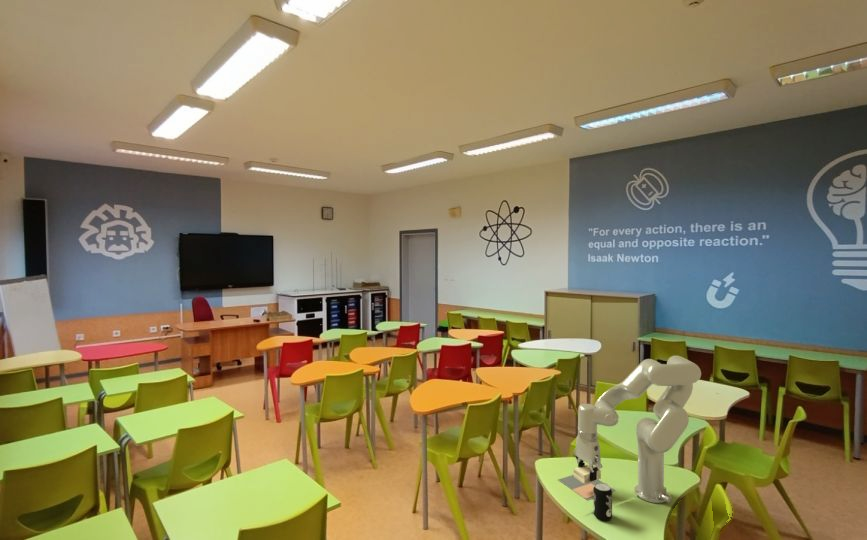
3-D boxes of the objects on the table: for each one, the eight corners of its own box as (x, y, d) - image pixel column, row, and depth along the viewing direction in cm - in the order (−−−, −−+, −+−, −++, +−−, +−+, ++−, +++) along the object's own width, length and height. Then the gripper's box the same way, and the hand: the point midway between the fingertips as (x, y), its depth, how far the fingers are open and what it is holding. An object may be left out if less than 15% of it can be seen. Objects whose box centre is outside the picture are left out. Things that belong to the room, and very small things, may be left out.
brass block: (584, 483, 175) (584, 475, 175) (573, 477, 181) (573, 468, 181) (600, 478, 179) (600, 470, 179) (590, 472, 185) (590, 464, 184)
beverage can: (602, 524, 159) (602, 492, 159) (589, 514, 165) (589, 484, 165) (616, 519, 162) (615, 488, 161) (602, 510, 168) (602, 480, 167)
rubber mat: (616, 492, 180) (616, 490, 180) (587, 501, 173) (587, 500, 173) (584, 472, 196) (584, 470, 196) (557, 481, 190) (557, 479, 190)
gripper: (610, 440, 173) (609, 484, 174) (579, 425, 189) (579, 465, 189) (596, 444, 170) (596, 488, 171) (566, 428, 186) (565, 469, 186)
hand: (587, 476), depth 180 cm, fingers closed on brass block, 6 cm apart
